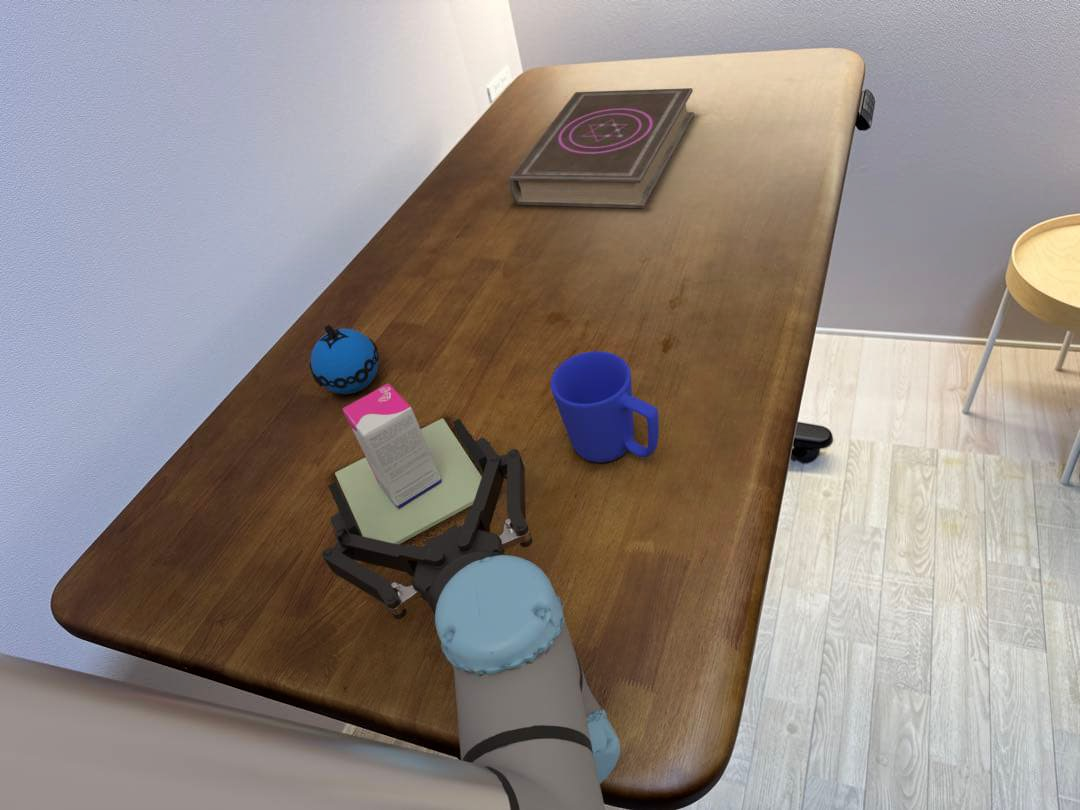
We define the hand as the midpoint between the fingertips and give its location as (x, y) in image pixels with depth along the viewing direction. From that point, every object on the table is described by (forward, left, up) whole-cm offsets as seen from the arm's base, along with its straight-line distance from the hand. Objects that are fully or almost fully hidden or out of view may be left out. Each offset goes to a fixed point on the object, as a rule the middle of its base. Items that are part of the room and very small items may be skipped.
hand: (399, 460), depth 78 cm
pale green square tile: (0, +4, -8) cm, 9 cm away
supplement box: (0, +4, -8) cm, 9 cm away
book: (+55, +52, -8) cm, 77 cm away
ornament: (0, +25, -8) cm, 27 cm away
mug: (+21, -6, -8) cm, 23 cm away
